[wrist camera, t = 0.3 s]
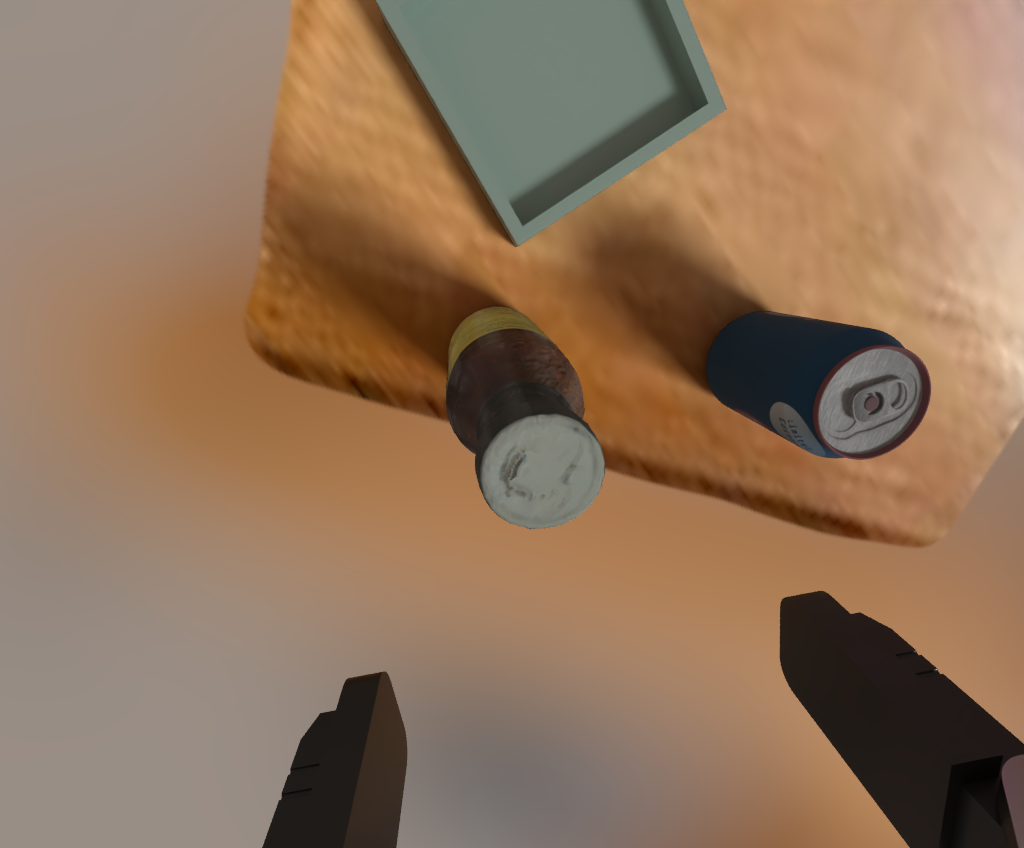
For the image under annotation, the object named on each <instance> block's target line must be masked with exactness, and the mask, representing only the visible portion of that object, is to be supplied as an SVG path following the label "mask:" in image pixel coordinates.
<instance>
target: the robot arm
mask: <svg viewBox="0 0 1024 848" xmlns="http://www.w3.org/2000/svg"><path fill="white" fill-rule="evenodd" d="M780 662H781V667H782V670H783V673H784V676H785V678H786V681H787V683H788V685H789V687H790V688H791V690H792V691H793V693H794V694H795V695H796V697H797V698H798V699H799V701H800V702H801V704H802V705H803V706H804V707H805V709H806V710H807V711H808V713H809V714H810V715H811V717H812V718H813V719H814V721H815V722H816V723H817V725H818V726H819V727H820V729H821V730H822V731H823V733H824V734H825V735H826V737H827V738H828V739H829V741H830V742H831V743H832V745H833V746H834V747H835V749H836V750H837V751H838V753H839V754H840V755H841V757H842V758H843V759H844V761H845V762H846V763H847V765H848V766H849V767H850V768H851V770H852V771H853V773H854V774H855V775H856V777H857V778H858V779H859V781H860V782H861V783H862V785H863V786H864V787H865V789H866V790H867V791H868V793H869V794H870V795H871V797H872V798H873V799H874V800H875V802H876V803H877V805H878V806H879V807H880V809H881V810H882V811H883V813H884V814H885V815H886V817H887V818H888V819H889V820H890V822H891V823H892V825H893V826H894V827H895V828H896V830H897V831H898V833H899V834H900V835H901V837H902V838H903V839H904V840H905V842H906V843H907V845H908V846H909V847H910V848H1024V744H1023V743H1022V742H1021V741H1020V740H1019V739H1018V738H1016V737H1015V736H1014V735H1013V734H1012V733H1011V732H1009V731H1008V730H1007V729H1006V728H1005V727H1004V726H1002V725H1001V724H1000V723H999V722H998V721H997V720H995V719H994V718H993V717H992V716H991V715H990V714H989V713H988V712H986V711H985V710H984V709H983V708H982V707H981V706H980V705H978V704H977V703H976V702H975V701H974V700H973V699H972V698H970V697H969V696H968V695H967V694H966V693H965V692H963V691H962V690H961V689H960V688H959V687H958V686H957V685H955V684H954V683H953V682H952V681H951V680H950V679H948V678H947V677H946V676H945V675H944V674H940V673H939V672H938V669H937V668H936V667H934V665H932V664H931V663H930V662H929V661H928V660H926V659H925V658H924V657H923V656H922V655H918V654H917V652H916V650H915V649H914V648H913V647H912V646H911V645H909V644H908V643H907V642H906V641H905V640H904V639H902V638H901V637H900V636H899V635H898V634H897V633H895V632H894V631H893V630H892V629H891V628H888V627H887V626H885V625H883V624H881V623H879V622H877V621H875V620H873V619H872V618H870V617H868V616H866V615H864V614H862V613H855V614H850V613H849V612H848V611H847V610H846V609H845V608H844V607H842V606H841V605H840V604H839V603H838V602H837V601H836V600H835V599H834V598H832V596H830V595H829V594H828V593H826V592H824V591H817V592H812V593H807V594H801V595H796V596H791V597H786V598H784V599H782V601H781V606H780ZM406 766H407V740H406V732H405V728H404V724H403V721H402V718H401V714H400V711H399V708H398V704H397V701H396V697H395V694H394V691H393V687H392V684H391V681H390V678H389V675H388V674H387V673H386V672H379V673H374V674H369V675H363V676H358V677H353V678H348V679H347V680H346V681H345V683H344V685H343V689H342V692H341V695H340V698H339V702H338V705H337V708H336V710H335V711H330V712H325V713H320V714H319V716H318V717H317V719H316V720H315V721H314V723H313V724H312V725H311V727H310V728H309V729H308V731H307V732H306V733H305V735H304V736H303V737H302V739H301V740H300V743H299V746H298V749H297V752H296V755H295V757H294V760H293V763H292V766H291V773H290V775H288V777H287V780H286V783H285V785H284V788H283V791H282V799H281V800H279V802H278V805H277V808H276V811H275V813H274V816H273V819H272V822H271V825H270V827H269V830H268V833H267V836H266V839H265V842H264V845H263V847H262V848H396V845H397V837H398V830H399V822H400V813H401V806H402V798H403V790H404V783H405V775H406Z"/></svg>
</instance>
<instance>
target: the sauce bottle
mask: <svg viewBox="0 0 1024 848" xmlns="http://www.w3.org/2000/svg"><path fill="white" fill-rule="evenodd" d="M446 407H447V414H448V418H449V421H450V424H451V426H452V429H453V431H454V433H455V434H456V436H457V437H458V439H459V440H460V442H461V443H462V444H463V445H464V446H465V447H466V448H468V449H469V450H470V451H471V452H473V453H474V454H476V456H475V470H476V475H477V479H478V483H479V487H480V489H481V491H482V494H483V496H484V499H485V500H486V502H487V504H488V505H489V507H490V508H491V509H492V510H493V511H494V512H495V513H496V514H497V515H498V516H499V517H501V518H502V519H504V520H506V521H507V522H509V523H512V524H515V525H518V526H522V527H526V528H529V529H538V528H550V527H555V526H558V525H563V524H565V523H567V522H569V521H570V520H573V519H575V518H576V517H578V516H579V515H580V514H581V513H583V512H584V511H585V510H586V509H587V508H588V507H589V506H590V505H591V504H592V502H593V501H594V499H595V497H596V496H597V494H598V492H599V490H600V488H601V485H602V481H603V478H604V475H605V470H604V465H605V462H604V455H603V451H602V448H601V446H600V444H599V442H598V440H597V438H596V436H595V434H594V433H593V431H592V430H591V428H590V427H589V425H588V423H586V422H585V421H583V420H582V419H583V415H584V412H585V408H584V401H583V393H582V387H581V384H580V381H579V378H578V375H577V373H576V371H575V370H574V368H573V366H572V365H571V364H570V362H569V360H568V359H567V358H566V357H565V356H564V354H563V353H562V352H561V351H560V350H559V349H558V347H557V345H556V344H555V343H554V342H553V341H552V340H551V339H550V338H549V337H548V336H547V335H545V334H544V332H543V331H541V329H540V328H539V327H538V326H537V325H536V324H535V323H533V322H532V321H531V320H530V319H529V318H528V317H526V316H525V315H523V314H522V313H520V312H518V311H516V310H513V309H510V308H507V307H500V306H495V307H493V306H491V307H488V308H484V309H481V310H479V311H476V312H474V313H472V314H471V315H469V316H468V317H466V318H465V319H463V321H462V322H461V324H460V325H459V326H458V327H457V329H456V330H455V332H454V334H453V336H452V338H451V342H450V345H449V349H448V363H447V383H446Z"/></svg>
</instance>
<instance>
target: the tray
mask: <svg viewBox="0 0 1024 848" xmlns="http://www.w3.org/2000/svg"><path fill="white" fill-rule="evenodd" d="M376 2H377V5H378V8H379V10H380V13H381V16H382V19H383V21H384V23H385V24H386V26H387V28H388V29H389V31H390V33H391V35H392V36H393V38H394V40H395V41H396V43H397V45H398V47H399V48H400V50H401V52H402V53H403V55H404V57H405V59H406V60H407V62H408V64H409V65H410V67H411V69H412V71H413V72H414V74H415V76H416V78H417V79H418V81H419V83H420V84H421V86H422V88H423V90H424V91H425V93H426V95H427V96H428V98H429V100H430V102H431V103H432V105H433V107H434V108H435V110H436V112H437V114H438V115H439V117H440V119H441V120H442V122H443V124H444V126H445V127H446V129H447V131H448V132H449V134H450V136H451V138H452V139H453V141H454V143H455V145H456V146H457V148H458V150H459V151H460V153H461V155H462V157H463V158H464V160H465V162H466V163H467V165H468V167H469V169H470V170H471V172H472V174H473V175H474V177H475V179H476V181H477V182H478V184H479V186H480V187H481V189H482V191H483V193H484V194H485V196H486V198H487V200H488V201H489V203H490V205H491V206H492V208H493V210H494V212H495V213H496V215H497V217H498V218H499V220H500V222H501V224H502V225H503V227H504V229H505V230H506V232H507V234H508V236H509V237H510V239H511V241H512V242H513V244H514V246H515V247H517V246H519V245H521V244H522V243H524V242H525V241H527V240H528V239H530V238H531V237H533V236H534V235H536V234H537V233H539V232H540V231H542V230H543V229H545V228H546V227H548V226H549V225H551V224H553V223H554V222H556V221H557V220H559V219H560V218H562V217H563V216H565V215H566V214H568V213H569V212H571V211H572V210H574V209H575V208H577V207H578V206H580V205H581V204H583V203H584V202H586V201H588V200H589V199H591V198H592V197H594V196H595V195H597V194H598V193H600V192H601V191H603V190H604V189H606V188H607V187H609V186H610V185H612V184H613V183H615V182H616V181H618V180H619V179H621V178H623V177H624V176H626V175H627V174H629V173H630V172H632V171H633V170H635V169H636V168H638V167H639V166H641V165H642V164H644V163H645V162H647V161H648V160H650V159H651V158H653V157H654V156H656V155H657V154H659V153H661V152H662V151H664V150H665V149H667V148H668V147H670V146H671V145H673V144H674V143H676V142H677V141H679V140H680V139H682V138H683V137H685V136H686V135H688V134H689V133H691V132H692V131H694V130H696V129H697V128H699V127H700V126H702V125H703V124H705V123H706V122H708V121H709V120H711V119H712V118H714V117H715V116H717V115H718V114H720V113H721V112H723V111H724V110H726V109H727V108H726V106H725V103H724V101H723V99H722V96H721V94H720V91H719V89H718V86H717V84H716V81H715V79H714V76H713V74H712V71H711V69H710V66H709V64H708V62H707V59H706V57H705V54H704V52H703V49H702V47H701V44H700V42H699V39H698V37H697V34H696V32H695V29H694V27H693V24H692V22H691V20H690V17H689V15H688V12H687V10H686V7H685V5H684V2H683V0H376Z"/></svg>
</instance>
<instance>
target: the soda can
mask: <svg viewBox="0 0 1024 848" xmlns="http://www.w3.org/2000/svg"><path fill="white" fill-rule="evenodd" d="M706 374H707V380H708V383H709V386H710V389H711V390H712V392H713V394H714V395H715V397H716V398H717V399H718V400H719V401H720V402H721V403H723V404H724V405H726V406H727V407H729V408H731V409H733V410H734V411H736V412H738V413H740V414H741V415H743V416H745V417H747V418H749V419H750V420H752V421H754V422H756V423H758V424H759V425H761V426H763V427H765V428H767V429H768V430H770V431H772V432H774V433H775V434H777V435H779V436H781V437H783V438H784V439H786V440H788V441H790V442H792V443H793V444H795V445H797V446H799V447H801V448H802V449H804V450H806V451H808V452H810V453H812V454H814V455H817V456H821V457H826V458H845V457H846V458H850V459H857V460H863V459H870V458H875V457H878V456H881V455H883V454H886V453H888V452H890V451H892V450H893V449H895V448H896V447H898V446H899V445H901V444H902V443H903V442H904V441H906V440H907V439H908V438H909V437H910V436H911V435H912V434H913V432H914V431H915V430H916V429H917V427H918V426H919V424H920V423H921V421H922V419H923V418H924V416H925V413H926V411H927V408H928V405H929V401H930V396H931V382H930V377H929V373H928V371H927V368H926V366H925V365H924V363H923V362H922V361H921V359H920V358H919V357H918V356H916V355H915V354H914V353H912V352H911V351H909V350H907V349H905V348H904V347H903V345H902V344H901V343H900V342H899V341H898V340H896V339H895V338H894V337H892V336H891V335H889V334H887V333H885V332H883V331H880V330H876V329H871V328H865V327H859V326H853V325H847V324H842V323H836V322H830V321H824V320H818V319H812V318H806V317H800V316H795V315H789V314H783V313H777V312H771V311H758V312H752V313H749V314H746V315H743V316H741V317H739V318H737V319H735V320H734V321H732V322H731V323H730V324H728V325H727V326H726V327H725V328H724V329H723V330H722V331H721V332H720V333H719V335H718V336H717V337H716V339H715V340H714V342H713V344H712V346H711V348H710V351H709V354H708V357H707V363H706Z"/></svg>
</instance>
